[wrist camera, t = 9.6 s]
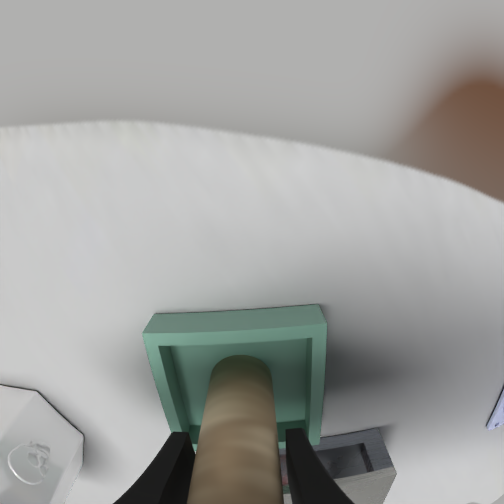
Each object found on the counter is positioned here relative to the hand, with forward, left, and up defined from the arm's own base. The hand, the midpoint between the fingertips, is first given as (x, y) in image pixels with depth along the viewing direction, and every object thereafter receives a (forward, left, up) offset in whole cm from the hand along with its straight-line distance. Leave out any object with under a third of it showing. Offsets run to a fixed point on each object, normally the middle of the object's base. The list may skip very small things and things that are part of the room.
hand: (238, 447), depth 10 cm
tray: (0, 0, -5) cm, 5 cm away
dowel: (0, 0, -4) cm, 4 cm away
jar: (+16, +6, -5) cm, 18 cm away
